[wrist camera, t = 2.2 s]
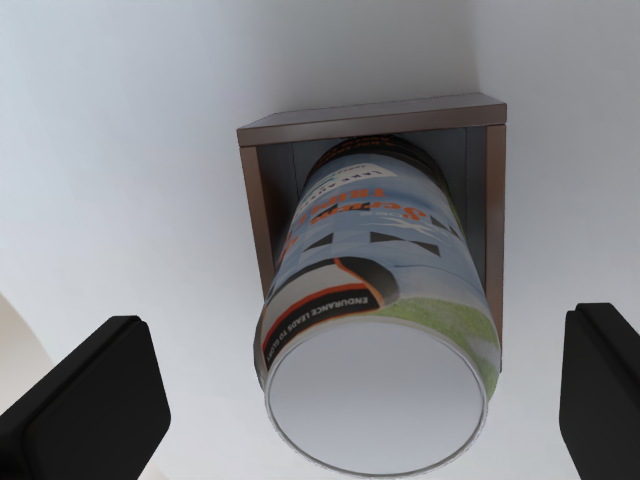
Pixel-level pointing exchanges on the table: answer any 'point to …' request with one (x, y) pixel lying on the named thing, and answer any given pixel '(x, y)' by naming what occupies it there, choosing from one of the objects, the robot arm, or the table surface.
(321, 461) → the beverage can
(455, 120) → the can holder
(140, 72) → the table surface
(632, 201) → the table surface
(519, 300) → the table surface
